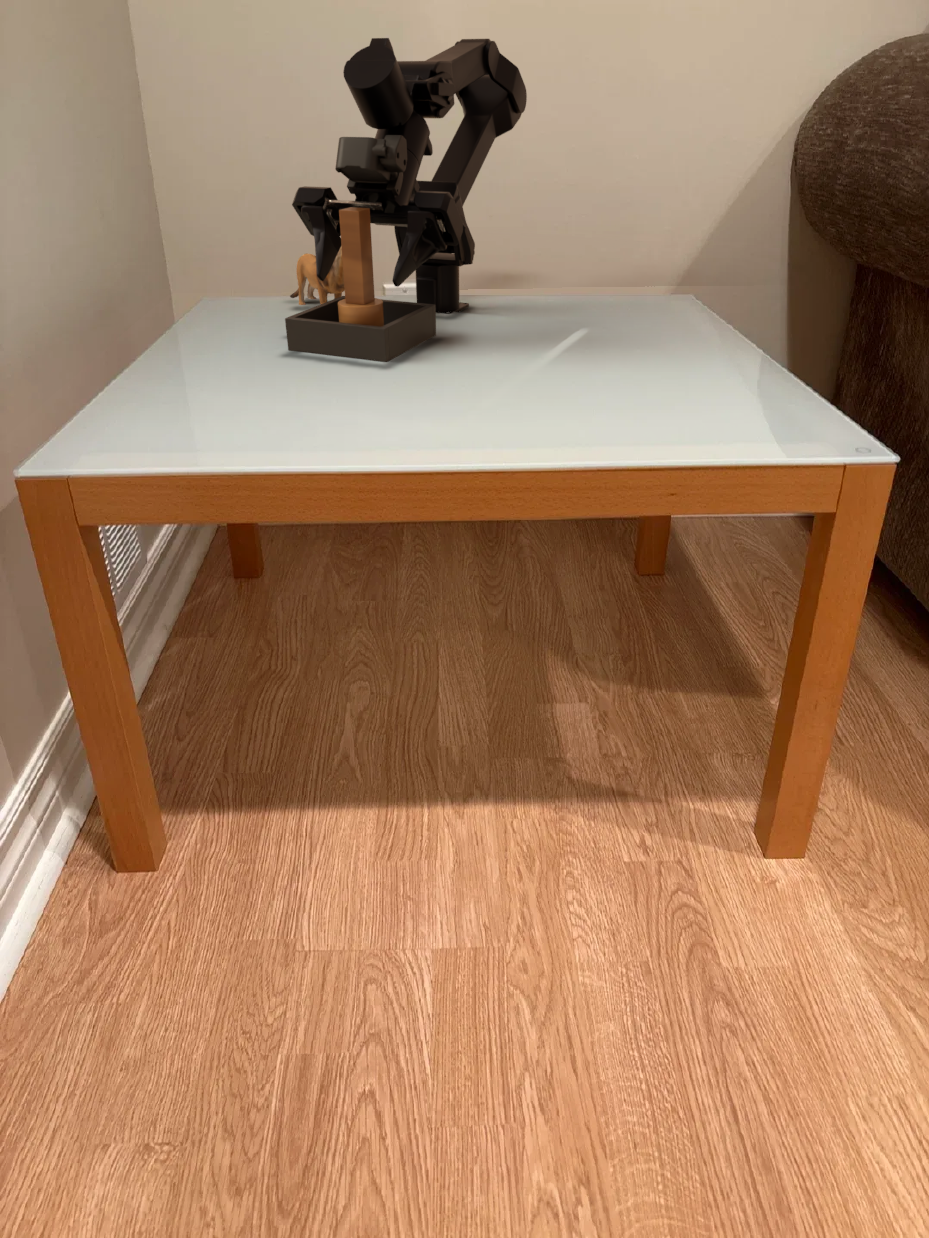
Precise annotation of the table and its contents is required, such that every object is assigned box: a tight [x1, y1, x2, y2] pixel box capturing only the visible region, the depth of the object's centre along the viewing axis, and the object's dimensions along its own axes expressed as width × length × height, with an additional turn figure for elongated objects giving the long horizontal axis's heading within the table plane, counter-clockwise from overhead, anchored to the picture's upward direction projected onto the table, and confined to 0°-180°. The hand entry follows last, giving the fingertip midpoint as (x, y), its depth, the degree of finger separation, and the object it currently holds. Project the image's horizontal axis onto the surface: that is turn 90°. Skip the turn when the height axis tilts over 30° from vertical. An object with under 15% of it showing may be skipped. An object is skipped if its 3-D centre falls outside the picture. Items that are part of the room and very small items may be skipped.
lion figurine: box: [289, 245, 345, 306], centre depth 121 cm, size 15×5×9 cm, turn 44°
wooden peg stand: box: [338, 207, 384, 327], centre depth 101 cm, size 5×5×14 cm
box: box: [284, 295, 437, 363], centre depth 106 cm, size 13×13×4 cm
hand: (357, 281), depth 100 cm, fingers open, 9 cm apart
